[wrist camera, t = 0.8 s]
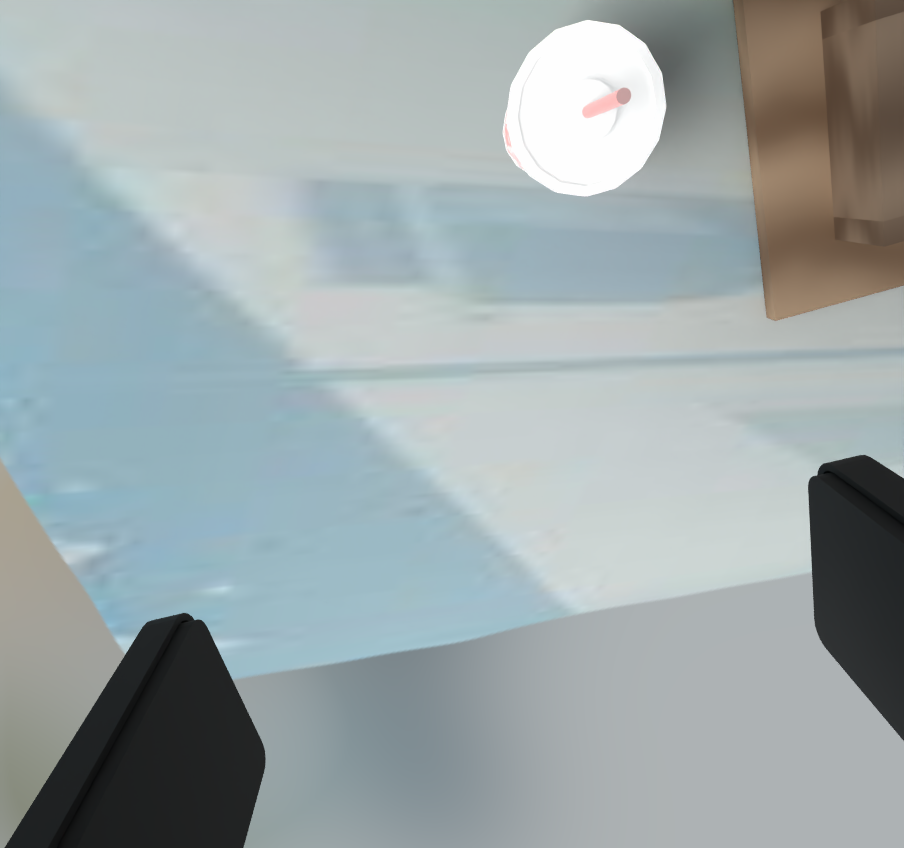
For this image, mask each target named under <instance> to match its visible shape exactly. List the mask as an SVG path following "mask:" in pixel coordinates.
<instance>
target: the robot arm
mask: <svg viewBox="0 0 904 848" xmlns="http://www.w3.org/2000/svg"><path fill="white" fill-rule="evenodd" d="M808 493H809V514H810V535H811V557H812V577H813V597H814V598H813V599H814V619H815V627H816V630H817V633H818V635H819V638H820V640H821V641H822V643H823V645H824V646H825V648H826V649H827V650H828V651H829V652H830V654H831V655H832V656H833V657H834V658H835V660H836V661H837V662H838V663H839V664H840V666H841V667H842V668H843V669H844V670H845V672H846V673H847V674H848V675H849V676H850V678H851V679H852V680H853V681H854V682H855V683H856V685H857V686H858V687H859V688H860V689H861V691H862V692H863V693H864V694H865V695H866V697H867V698H868V699H869V700H870V701H871V702H872V704H873V705H874V706H875V707H876V708H877V710H878V711H879V712H880V713H881V714H882V716H883V717H884V718H885V719H886V720H887V721H888V723H889V724H890V725H891V726H892V727H893V728H894V730H895V731H896V732H897V733H898V735H899V736H900V737H901V738H902V739H903V740H904V478H902V477H901V476H899V475H897V474H896V473H894V472H893V471H891V470H890V469H888V468H886V467H885V466H883V465H882V464H880V463H879V462H877V461H876V460H874V459H872V458H871V457H868V456H866V455H859V456H855V457H851V458H846V459H842V460H838V461H833V462H829V463H825V464H823V465H821V466H820V468H819V470H818V475H817V476H813V477H811V478H810V480H809V484H808ZM264 769H265V750H264V746H263V743H262V741H261V739H260V737H259V735H258V733H257V730H256V729H255V726H254V724H253V722H252V720H251V718H250V716H249V714H248V712H247V710H246V708H245V705H244V703H243V701H242V699H241V697H240V695H239V693H238V691H237V689H236V687H235V684H234V683H233V680H232V678H231V676H230V674H229V672H228V670H227V668H226V666H225V664H224V661H223V659H222V657H221V655H220V653H219V651H218V649H217V647H216V645H215V643H214V641H213V639H212V636H211V634H210V632H209V630H208V628H207V626H206V625H205V623H204V622H203V621H202V620H194V619H193V617H192V616H190V615H189V614H186V613H182V614H178V615H173V616H169V617H165V618H160V619H156V620H152V621H149V622H147V623H146V624H145V625H144V626H143V627H142V629H141V631H140V632H139V634H138V635H137V637H136V639H135V640H134V642H133V643H132V645H131V647H130V648H129V650H128V651H127V653H126V655H125V656H124V658H123V660H122V661H121V663H120V664H119V666H118V667H117V669H116V671H115V672H114V674H113V676H112V677H111V679H110V680H109V682H108V683H107V685H106V687H105V688H104V690H103V691H102V693H101V695H100V696H99V698H98V700H97V701H96V703H95V704H94V706H93V707H92V709H91V711H90V712H89V714H88V715H87V717H86V719H85V720H84V722H83V724H82V725H81V727H80V728H79V730H78V731H77V733H76V735H75V736H74V738H73V740H72V741H71V743H70V744H69V746H68V747H67V749H66V751H65V752H64V754H63V755H62V757H61V759H60V760H59V762H58V763H57V765H56V767H55V768H54V770H53V771H52V773H51V775H50V776H49V778H48V779H47V781H46V783H45V784H44V786H43V787H42V789H41V791H40V792H39V794H38V795H37V797H36V799H35V800H34V802H33V803H32V805H31V806H30V808H29V810H28V811H27V813H26V814H25V816H24V818H23V819H22V821H21V822H20V824H19V826H18V827H17V829H16V831H15V832H14V834H13V835H12V837H11V838H10V840H9V842H8V843H7V845H6V847H5V848H243V847H244V843H245V840H246V836H247V832H248V828H249V825H250V821H251V818H252V814H253V810H254V807H255V803H256V799H257V795H258V792H259V788H260V785H261V781H262V777H263V774H264Z"/></svg>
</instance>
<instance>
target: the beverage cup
mask: <svg viewBox="0 0 904 848" xmlns="http://www.w3.org/2000/svg"><path fill="white" fill-rule="evenodd" d="M665 111H666V100H665V92H664V85H663V77H662V72H661V70H660V68H659V67H658V65H657V63H656V61H655V60H654V58H653V56H652V54H651V53H650V51H649V49H648V47H647V46H646V44H645V43H644V42H642V41H641V40H640V39H638V38H637V37H635V36H634V35H633V34H631V33H630V32H628V31H627V30H626V29H624V28H623V27H621V26H620V25H616V24H610V23H604V22H597V21H591V20H586V21H582V22H579V23H576V24H572V25H569V26H566V27H562V28H559V29H556V30H555V31H553V32H552V33H551V34H550V35H549V36H547V37H546V38H545V39H544V40H543V41H542V42H540V43H539V44H538V45H537V46H536V47H535V48H533V49H532V50H531V51H530V52H529V53H528V55H527V56H526V58H525V60H524V62H523V64H522V66H521V68H520V69H519V71H518V73H517V75H516V77H515V79H514V81H513V82H512V84H511V87H510V94H509V101H508V108H507V111H506V113H505V120H504V127H503V136H504V141H505V145H506V150H507V152H508V154H509V155H510V157H511V158H512V160H513V161H514V162H515V164H516V165H517V166H518V167H519V168H521V169H523V170H524V171H526V172H527V173H528V174H529V176H530V177H532V178H533V179H535V180H537V181H538V182H540V183H541V184H543V185H544V186H546V187H548V188H549V189H551V190H552V191H554V192H556V193H564V194H571V195H578V196H585V197H587V196H590V195H594V194H597V193H601V192H604V191H608V190H612V189H615V188H617V187H618V186H619V185H621V184H622V183H623V182H624V181H626V180H627V179H628V178H630V177H631V176H632V175H634V174H635V173H636V172H637V171H639V170H640V169H641V168H642V166H643V165H644V163H645V162H646V160H647V158H648V157H649V155H650V154H651V152H652V150H653V149H654V147H655V146H656V144H657V142H658V141H659V138H660V133H661V129H662V124H663V120H664V115H665Z"/></svg>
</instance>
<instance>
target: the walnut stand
mask: <svg viewBox="0 0 904 848" xmlns="http://www.w3.org/2000/svg"><path fill="white" fill-rule="evenodd" d="M733 3H734V13H735V22H736V32H737V41H738V51H739V60H740V70H741V79H742V88H743V98H744V107H745V117H746V126H747V136H748V145H749V155H750V164H751V174H752V183H753V192H754V202H755V211H756V221H757V230H758V240H759V249H760V259H761V268H762V277H763V287H764V296H765V306H766V315H767V318H770V319H772V320H774V321H777V320H781V319H784V318H788V317H791V316H795V315H799V314H802V313H806V312H809V311H813V310H817V309H820V308H824V307H827V306H831V305H835V304H838V303H842V302H845V301H849V300H853V299H856V298H860V297H864V296H867V295H871V294H874V293H878V292H882V291H885V290H889V289H892V288H896V287H900V286H903V285H904V0H733Z"/></svg>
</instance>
